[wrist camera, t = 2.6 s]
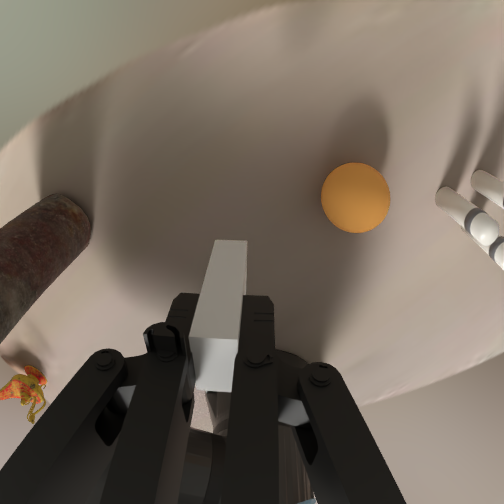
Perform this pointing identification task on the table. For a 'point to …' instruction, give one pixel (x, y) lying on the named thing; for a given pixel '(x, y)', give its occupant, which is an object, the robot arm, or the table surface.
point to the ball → (355, 197)
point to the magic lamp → (26, 389)
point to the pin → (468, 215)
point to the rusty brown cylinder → (37, 253)
